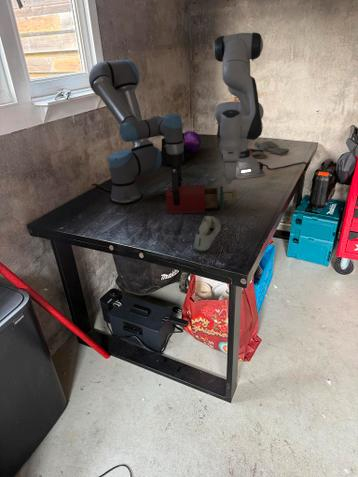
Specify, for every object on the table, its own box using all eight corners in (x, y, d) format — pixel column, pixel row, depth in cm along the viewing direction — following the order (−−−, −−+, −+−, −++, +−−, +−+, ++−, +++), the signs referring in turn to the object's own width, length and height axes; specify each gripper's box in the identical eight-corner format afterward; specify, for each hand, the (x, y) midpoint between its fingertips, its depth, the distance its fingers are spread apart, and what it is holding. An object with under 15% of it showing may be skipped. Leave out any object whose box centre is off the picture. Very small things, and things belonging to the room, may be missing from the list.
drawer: (235, 199, 155) (235, 185, 151) (237, 208, 146) (237, 194, 143) (189, 201, 157) (188, 187, 154) (188, 210, 149) (187, 196, 145)
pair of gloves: (253, 161, 209) (253, 153, 207) (231, 152, 230) (232, 144, 227) (291, 153, 219) (292, 145, 216) (267, 145, 240) (268, 138, 237)
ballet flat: (224, 223, 138) (224, 206, 134) (211, 254, 118) (211, 235, 114) (205, 222, 140) (204, 205, 136) (189, 252, 120) (188, 233, 116)
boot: (229, 139, 260) (230, 113, 250) (227, 147, 240) (228, 119, 230) (218, 139, 262) (218, 113, 252) (215, 147, 242) (215, 119, 232)
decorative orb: (204, 151, 235) (204, 129, 228) (194, 156, 225) (193, 134, 217) (186, 149, 243) (186, 128, 235) (175, 154, 232) (174, 132, 224)
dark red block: (205, 202, 158) (204, 184, 153) (205, 212, 148) (204, 193, 143) (170, 203, 159) (168, 186, 155) (167, 213, 150) (165, 195, 145)
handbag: (171, 167, 207) (169, 126, 195) (160, 165, 212) (156, 125, 199) (188, 158, 222) (187, 119, 209) (177, 157, 226) (175, 119, 214)
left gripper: (169, 145, 152) (172, 190, 162) (162, 161, 131) (167, 210, 142) (185, 145, 151) (187, 189, 162) (181, 160, 130) (184, 210, 141)
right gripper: (221, 145, 148) (221, 175, 155) (223, 158, 130) (222, 191, 137) (235, 145, 147) (234, 174, 154) (239, 158, 130) (237, 191, 137)
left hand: (178, 199), depth 152 cm, fingers closed on dark red block, 11 cm apart
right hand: (229, 182), depth 146 cm, fingers closed
